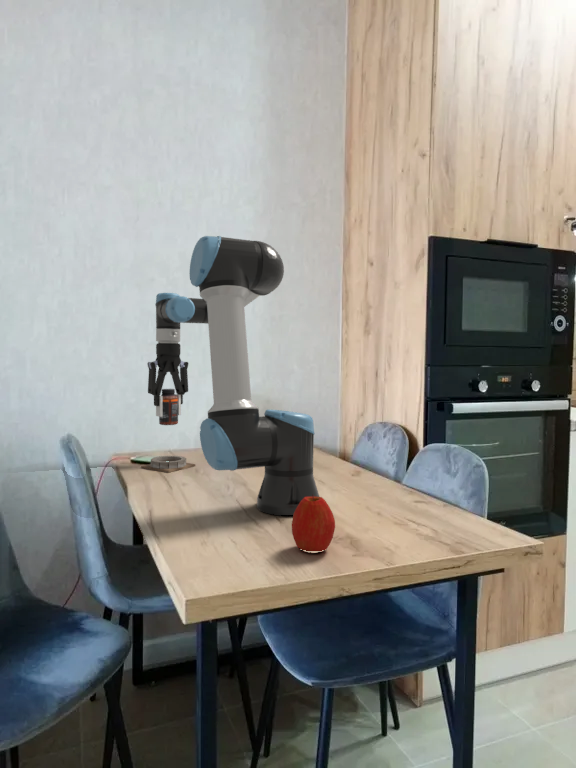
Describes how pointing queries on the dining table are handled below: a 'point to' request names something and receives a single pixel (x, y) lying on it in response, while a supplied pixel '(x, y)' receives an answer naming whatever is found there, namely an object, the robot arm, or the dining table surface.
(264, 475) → the robot arm
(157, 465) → the socket
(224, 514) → the dining table surface
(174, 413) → the supplement bottle
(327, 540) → the apple
